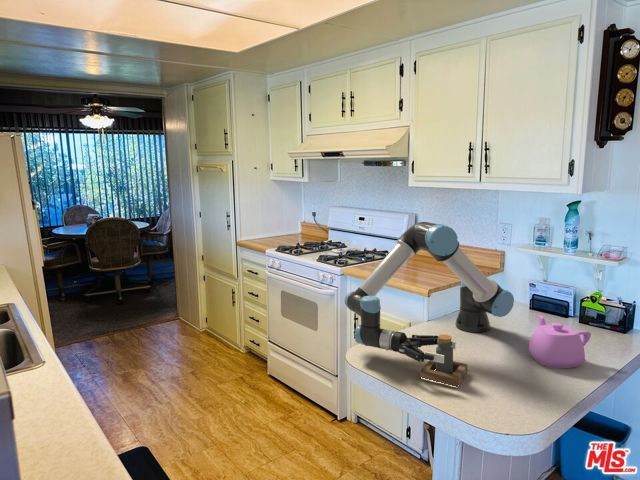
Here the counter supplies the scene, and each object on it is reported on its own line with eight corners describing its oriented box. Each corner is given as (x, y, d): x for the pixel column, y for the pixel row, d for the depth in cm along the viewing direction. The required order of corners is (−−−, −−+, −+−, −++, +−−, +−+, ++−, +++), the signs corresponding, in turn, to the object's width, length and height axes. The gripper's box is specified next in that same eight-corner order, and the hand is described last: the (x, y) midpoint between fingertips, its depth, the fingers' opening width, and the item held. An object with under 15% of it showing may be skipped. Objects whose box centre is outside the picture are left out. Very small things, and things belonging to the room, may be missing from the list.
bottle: (436, 371, 163) (436, 333, 161) (452, 373, 161) (453, 334, 159) (435, 379, 158) (435, 339, 155) (452, 381, 156) (453, 340, 153)
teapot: (601, 370, 160) (604, 331, 158) (543, 372, 161) (545, 332, 158) (567, 345, 183) (569, 310, 180) (516, 347, 183) (517, 312, 181)
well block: (432, 365, 168) (432, 356, 168) (467, 373, 161) (467, 364, 161) (420, 379, 158) (420, 370, 157) (457, 388, 150) (457, 378, 150)
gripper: (406, 339, 179) (459, 349, 168) (379, 362, 158) (438, 376, 147) (406, 321, 178) (459, 330, 167) (379, 342, 157) (438, 355, 146)
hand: (449, 352), depth 157 cm, fingers open, 13 cm apart
